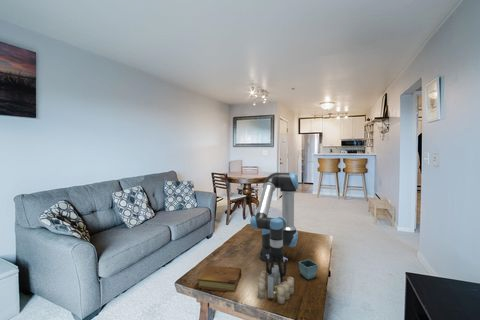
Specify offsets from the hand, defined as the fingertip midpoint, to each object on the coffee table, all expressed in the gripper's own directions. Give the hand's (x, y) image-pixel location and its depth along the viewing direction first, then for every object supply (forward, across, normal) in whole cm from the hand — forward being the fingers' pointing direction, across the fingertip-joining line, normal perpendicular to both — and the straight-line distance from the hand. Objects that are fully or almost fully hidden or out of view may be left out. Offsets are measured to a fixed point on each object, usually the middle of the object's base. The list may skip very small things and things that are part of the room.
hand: (276, 286), depth 135 cm
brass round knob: (+3, 0, -5) cm, 5 cm away
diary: (+3, -34, -5) cm, 35 cm away
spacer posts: (+2, 0, -5) cm, 5 cm away
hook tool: (+1, 0, 0) cm, 1 cm away
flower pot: (+2, +14, +23) cm, 27 cm away
